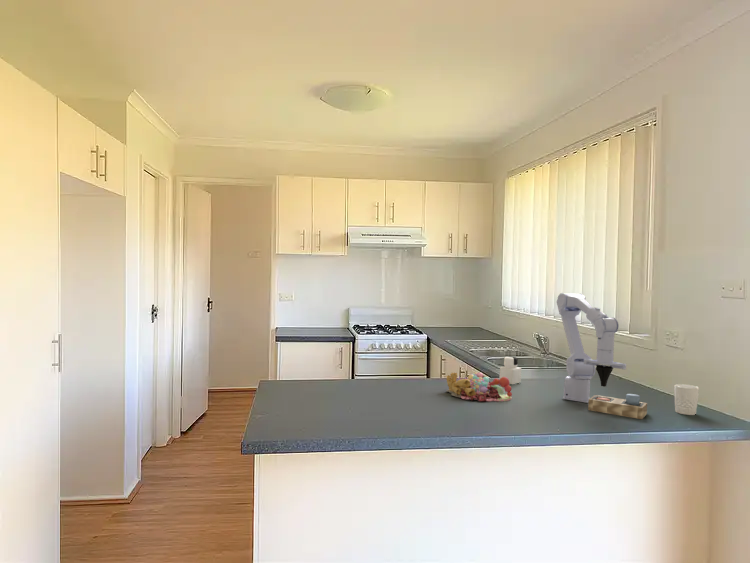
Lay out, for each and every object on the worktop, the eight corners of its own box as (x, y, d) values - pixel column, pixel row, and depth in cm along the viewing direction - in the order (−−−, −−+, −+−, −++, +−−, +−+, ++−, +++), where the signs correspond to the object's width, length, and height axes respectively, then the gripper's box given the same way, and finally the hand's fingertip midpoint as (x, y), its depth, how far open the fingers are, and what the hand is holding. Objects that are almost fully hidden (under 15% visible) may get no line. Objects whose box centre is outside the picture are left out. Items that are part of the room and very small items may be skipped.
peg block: (588, 409, 192) (588, 399, 192) (594, 405, 200) (595, 394, 200) (641, 419, 182) (642, 407, 181) (646, 413, 190) (647, 402, 190)
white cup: (701, 416, 189) (702, 389, 189) (678, 414, 190) (679, 387, 190) (692, 411, 197) (693, 384, 197) (669, 409, 198) (671, 383, 198)
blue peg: (624, 405, 187) (625, 395, 187) (627, 403, 191) (627, 393, 191) (638, 407, 185) (638, 397, 185) (640, 405, 188) (640, 395, 188)
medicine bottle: (507, 380, 243) (508, 355, 243) (521, 383, 238) (522, 357, 238) (498, 382, 238) (500, 356, 238) (512, 385, 233) (513, 358, 233)
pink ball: (595, 408, 193) (595, 398, 193) (598, 406, 197) (598, 396, 197) (607, 411, 191) (608, 400, 191) (610, 408, 194) (610, 398, 194)
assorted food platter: (468, 404, 195) (469, 380, 194) (436, 391, 216) (437, 369, 216) (521, 400, 205) (522, 377, 205) (485, 388, 226) (486, 367, 226)
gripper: (582, 348, 195) (580, 384, 195) (624, 353, 186) (622, 390, 186) (587, 346, 200) (585, 381, 201) (628, 351, 192) (626, 387, 192)
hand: (603, 386), depth 194 cm, fingers closed
